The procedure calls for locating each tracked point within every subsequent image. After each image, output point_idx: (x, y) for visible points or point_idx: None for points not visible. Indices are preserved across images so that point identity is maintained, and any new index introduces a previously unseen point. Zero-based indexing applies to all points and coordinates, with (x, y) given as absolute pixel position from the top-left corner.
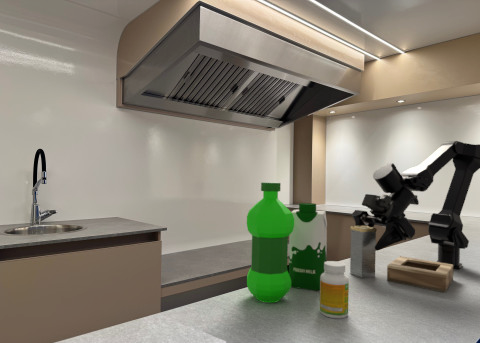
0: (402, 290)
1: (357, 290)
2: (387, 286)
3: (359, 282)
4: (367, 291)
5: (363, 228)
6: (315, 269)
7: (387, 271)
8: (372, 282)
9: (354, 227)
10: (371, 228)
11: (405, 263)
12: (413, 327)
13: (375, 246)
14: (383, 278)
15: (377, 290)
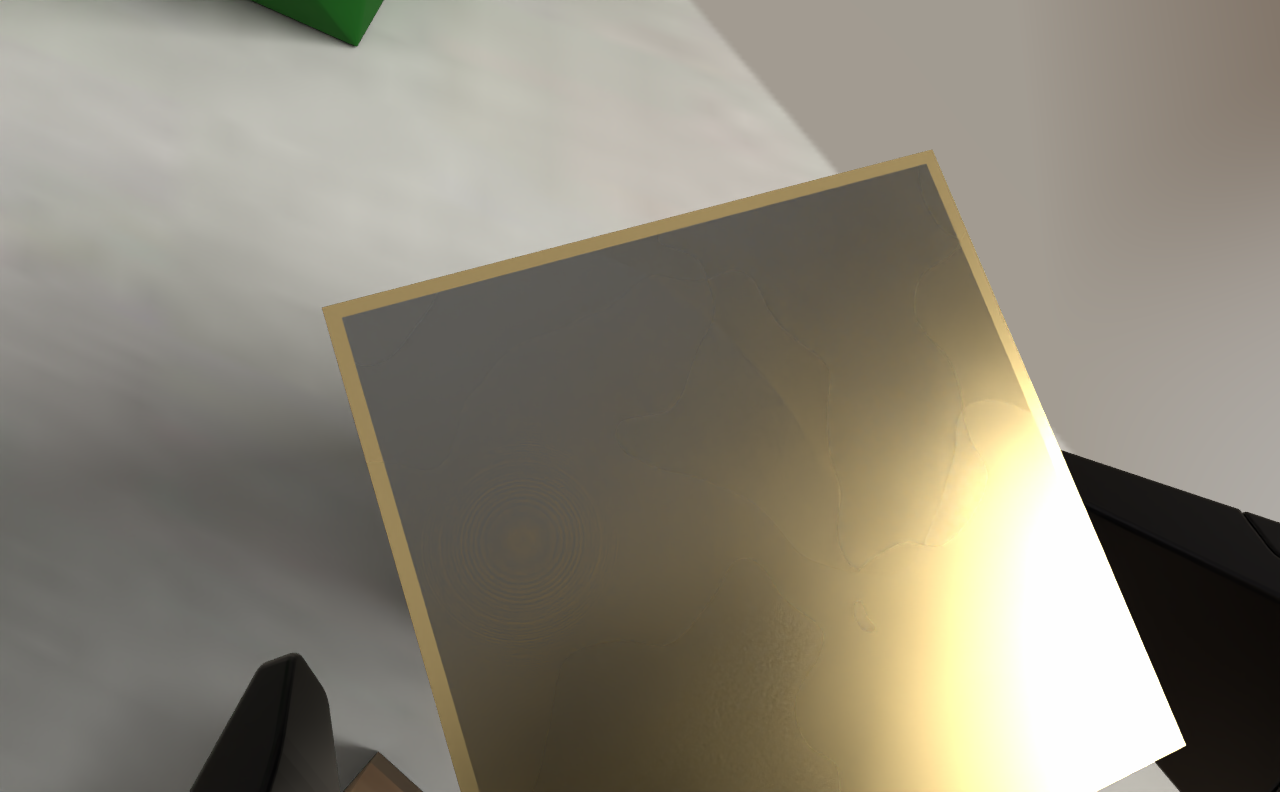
0: (11, 781)
1: (77, 273)
2: (172, 659)
3: (333, 399)
4: (32, 361)
5: (455, 405)
6: None
7: (353, 790)
8: (325, 543)
9: (747, 202)
10: (474, 777)
11: None
12: None
13: (271, 673)
14: None
15: (50, 481)
